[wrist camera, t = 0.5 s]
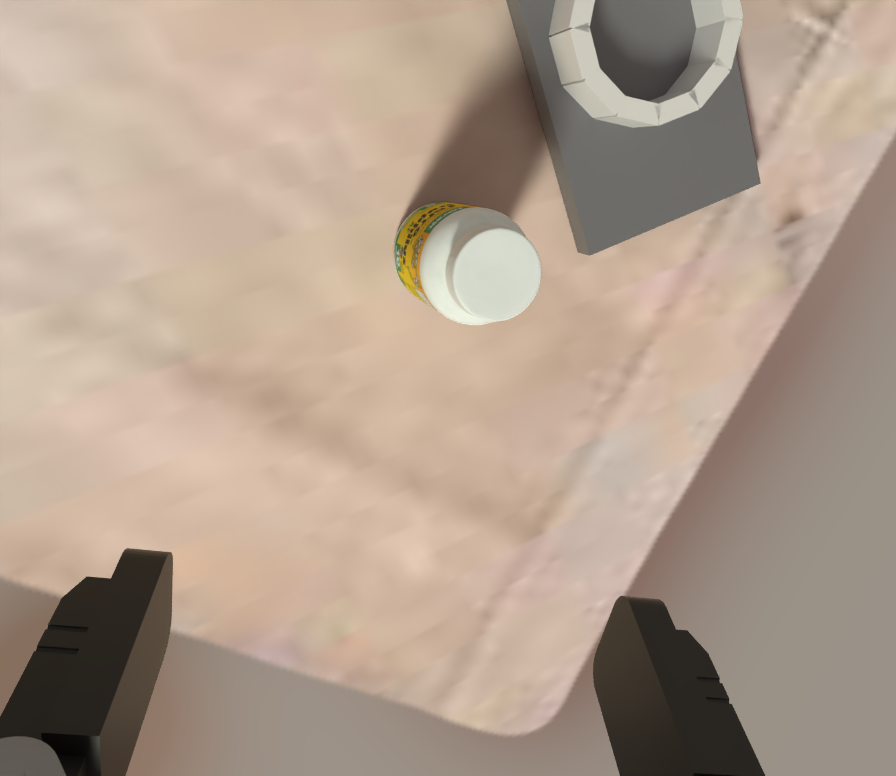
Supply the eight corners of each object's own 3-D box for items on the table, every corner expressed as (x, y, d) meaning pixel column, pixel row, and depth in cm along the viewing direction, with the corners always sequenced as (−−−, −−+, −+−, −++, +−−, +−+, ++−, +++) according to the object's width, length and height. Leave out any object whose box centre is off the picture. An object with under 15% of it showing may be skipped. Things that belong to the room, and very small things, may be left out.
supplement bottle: (447, 320, 42) (505, 363, 33) (370, 262, 40) (410, 291, 31) (506, 241, 42) (580, 262, 33) (431, 178, 40) (489, 184, 31)
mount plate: (491, -54, 37) (519, -78, 34) (684, -122, 39) (732, -151, 35) (578, 252, 43) (610, 260, 39) (744, 182, 45) (790, 184, 41)
